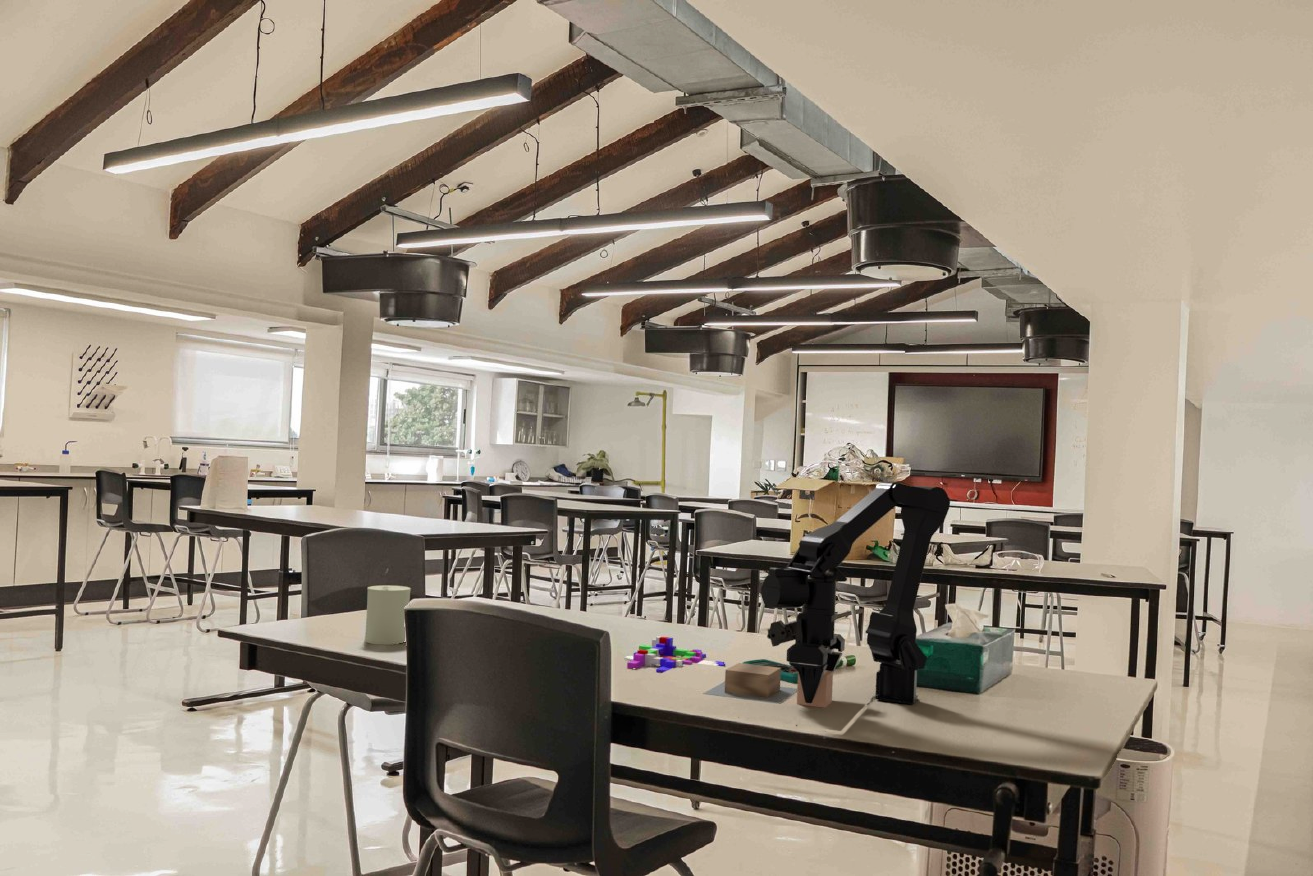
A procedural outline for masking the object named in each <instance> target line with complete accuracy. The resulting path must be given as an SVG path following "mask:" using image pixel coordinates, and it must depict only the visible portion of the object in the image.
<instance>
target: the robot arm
mask: <svg viewBox="0 0 1313 876" xmlns="http://www.w3.org/2000/svg"><path fill="white" fill-rule="evenodd" d="M950 506H951V497H949V495H948V493H947V492H946V490H945V489H944V488H942V487H940V486H930V485H929V486H926V485H924V486H923V485H908V484H905V483H902V482H901V481H886V480H885V481H884V480H883V481H881V482H879V483H877V485H876V486H875V487H874V489H872V490H871V491H870V493H868V494H867V495H866V496H865V497H863V498H862V499H861V500H859V502H857V503H856V504H855V505H854V506H853V507H851V508H850V509H849V510H848V511H846V512H845V513H844V514H843V515H842V516H840V517H839V518H838V519H837V520H836V521H833V522H832V523H830V524H828V525H825V526H822V527H819V528H816V529H815V530H813V531H811V532H809V533H808V534H805V536H803V537H802V538H801V539H800V541H799V542H798V549H797V550H796V551H795V552H794V554H793V556H792V558H791V559H790V561H789V562H788V563H787V565H786V566H785V568H780V567H779V568H778V567H769V569H768V570H769V571H768V574H767V576H766V577H765V578H764V579H763V582H762V585H761V587H760V593H761V600H762V603H763V604H764V606H766V607H767V608H768V609H797V608H801V611H800V612H798V614H797V616H796V620H792V621H788V622H786V623H785V622H783V621H782V620H778V621H773V622H770V627H769V628H768V629H767V635H766V637H767V639H769V640H770V642H771V646H772V647H778V646H780V644H784V643H788V642H792V641H795V642H794V644H792V645H791V646H790V647H788V648H787V649H786V659H785V660H786V662H788V663H789V664H788V665H790V666H793V667H794V668H795V669H796V670H797V671H798V673H799V676H800V680H801V685H802V689H803V694H804V699H805V702H806V703H812V702H813V699H814V697H815V694H816V692H817V689H818V687H819V684H820V682H821V679H822V677H823V674H824V672H825V670H827V671H833V673H834V672H835V670H836V668H837V666H838V663H839V661H840V660H841V658H842V656H843V652H845V648H846V647H845V641H846V639H845V638H844V637H843V636H842V635H841V634H840V633H835V624H836V623H835V622H836V621H837V620H838V613H837V612H836V601H837V600H836V598H837V597H836V596H837V593H836V592H837V583H838V582H840V583H842V582H843V583H844V582H847V581H848V578H847V577H846V575H844V574H843V573H842V572H841V571H840V568H839V566H841V564H842V563H843V562H844V561H845V559H846V558H847V557H848V556H849V554H851V550H852V547H853V545H854V543H855V542H856V541H857V540H858V538H859V537H861V536H862V535H863V534H865V533H866V532H867V531H868V530H869V529H871V528H872V527H873V526H874V525H876V523H877V522H878V521H880V520H881V519H882V518H884V517H885V516H886V515H887V514H888V513H889V512H891V510H892V509H894V508H895V507H897V508H900V517H901V521H902V525H903V528H904V529H903V530H904V531H903V534H902V538H901V539H902V540H901V544H900V547H899V551H898V555H897V557H896V558H897V559H896V562H895V567H894V569H893V575H892V579H891V582H890V585H889V590H888V595H887V599H886V601H885V604H884V606H883V607H882V608H881V610H880V611H879V612H877V611H871V613H870V615H869V621H868V625H867V628H866V630H865V634H867V637H866V644H867V645H868V647H869V650H870V652H871V655H872V660H873V662H875V663H880V664H879V670H878V671H876V675H875V695H876V700H878V701H883V702H884V701H885V702H890V703H899V704H908V705H914V704H915V702H916V701H917V700H918V697H919V695H917V683H918V681H917V680H918V671H919V670H923V669H925V667H926V664H927V660H928V657H927V656H926V655H925V653H924V652H923V650H922V649H921V648H920V647H919V645H918V644H917V643H916V640H917V634H918V633H917V632H918V629H917V625H916V621H915V617H914V608H915V605H916V601H917V598H918V596H917V595H918V593H919V588H920V585H921V580H922V576H923V573H924V568H925V565H926V562H927V556H928V552H929V548H930V543H931V542H932V541H931V540H932V538H933V536H934V535H935V533H937V531H938V530H939V529H940V528H941V526H942V525H943V524H944V522H945V520H946V517H947V515H948V512H949V510H950ZM835 650H837V651H838V652H837V651H835Z"/></svg>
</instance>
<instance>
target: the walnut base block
mask: <svg viewBox="0 0 1313 876" xmlns="http://www.w3.org/2000/svg"><path fill="white" fill-rule="evenodd" d="M724 676H725V677H724V682H725V693H732V694H740V695H748V696H756V697H764V698H769V697H770V696H772V695H773V694H775V693H776V692H778V691H779V690H780V687H781V680H780V678H781V668H778V667H769V666H761V665H752V664H743V662H738V663H736V664H734V665H732V666H730V667H728V668H726V669H725V673H724Z"/></svg>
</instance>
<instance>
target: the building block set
mask: <svg viewBox="0 0 1313 876" xmlns="http://www.w3.org/2000/svg"><path fill="white" fill-rule="evenodd" d="M673 640H674V637H669V636H660V635H659V636H658V635H657V636H656V637H655V638H653V639H651V645H647V644H641V645H639V646H638V650H637V651H635V652H633V655H627V656H624V660H625V659H626V660H628V661H627V663H626V664H627V665H626V668H627V669H629V668H637V669H638V668H642V667H644V665H646V667H654V666H656V665H658V666H659V667H658V668H656V669H655V673H666V672H667V671H670V670H672V669H675V668H677V667H679V668H680V667H682V666H683V665H692V664H699V665H700V664H701V665H708V666H715V667H716V666H717V667H723V668H725V667H726V663H725V661H720V660H715V661H714V660H705V659H704V658H706V657H707V654H706V653H703V651H702V649H692V650H689V649H687V648H686V649H684V648H677V645H673V643H674V641H673ZM703 659H704V660H703ZM626 660H625V661H626ZM629 661H630V662H629Z"/></svg>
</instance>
